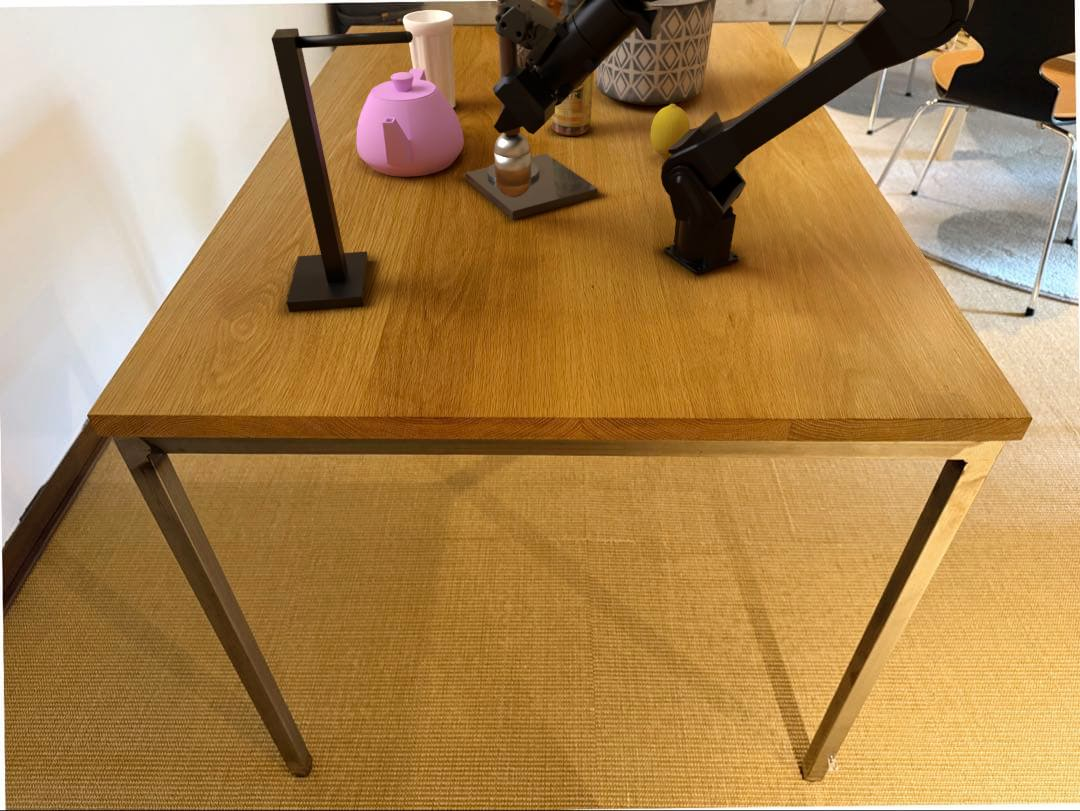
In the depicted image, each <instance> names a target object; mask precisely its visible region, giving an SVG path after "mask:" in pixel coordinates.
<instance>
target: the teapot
mask: <svg viewBox="0 0 1080 811" xmlns="http://www.w3.org/2000/svg"><path fill="white" fill-rule="evenodd" d="M355 140H356V150H357V154H358V155H359V157H360V159H361V160H363V161H364V163H366V165H368V166H369V167H370V168H371V169H373V170H374V171H376V172H378V173H380V174H382V175H386V176H391V177H401V178H402V177H403V178H405V177H421V176H427V175H431V174H435V173H438V172H440V171H443V170H445V169H447V168H449V167H450V166H451V165H453V163H454V162H455V160H456V159H457V158H458V157H459V155H460V154H461V153H462V151H463V148H464V144H465V139H464V132H463V129H462V124H461V122H460V120H459V117H458V115H457V112H456V111H455V109H454V108H452V106H451V105H450V103H449V102H448V101H447V99H446V98H445V96H444V95H443V94H442V92H441V91H440V90H439V89H438V88H437V87H436V85H434V84H433V83H431V82H429V81H427V80H426V75H425V71H424V69H413V68H410V69H409V70H408V72H407V71H400V72H396V73H393V74H391V76H390V80H388V81H384V82H382V83H379V84H377V85H376V86H374V87H373V88H372V89H371V90H370V92H369V94H368V96H367V98H366V100H365V102H364V104H363V106H362V109H361V112H360V115H359V119H358V121H357V127H356V138H355Z"/></svg>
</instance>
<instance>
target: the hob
mask: <svg viewBox="0 0 1080 811" xmlns="http://www.w3.org/2000/svg"><path fill="white" fill-rule="evenodd" d="M464 175H465V181H466V182H467V183H468V184H469V185H471V186H472V187H473V188H474V189H475V190H476V191H478V192H479V193H480V194H481V195H483V196H484V197H485V198H486V199H487V200H488V201H489V202H491V203H492V204H493V205H494V206H496V207H497V208H498V209H499V210H500V211H502V212H503V213H504V214H505V215H506V216H508V217H509V218H510V219H511V220H518V219H520V218H521V219H522V218H525V217H528V216H531V215H535V214H539V213H543V212H546V211H549V210H553V209H556V208H560V207H561V208H562V207H564V206H568V205H571V204H575V203H579V202H582V201H587V200H589V199H593V198H597V197H598V191H599V190H598V187H596V186H595V185H594V184H592V183H591V182H589V181H587V180H586V179H584V178H583V177H581V176H580V175H579V174H577V173H575V171H573V170H572V169H570V168H568V167H567V166H565V165H564V164H563V163H561V162H560V161H558V160H556V159H555V158H553V157H552V156H551V155H549V154H548V153H546V152H544V153H541V154H536V155H533V156H532V155H531V184H530V187H529V189H528V190H527V192H526V193H525V194H523V195H521V196H519V197H508V196H506V195H504V194H503V193H502V192H501V191H500V190H499V188H498V187H497V184H496V175H495V162H494V163H493V164H491V165H490V166H488V167H482V168H480V169H479V168H478V169H474V170H471V171H466V172H465V174H464Z"/></svg>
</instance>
